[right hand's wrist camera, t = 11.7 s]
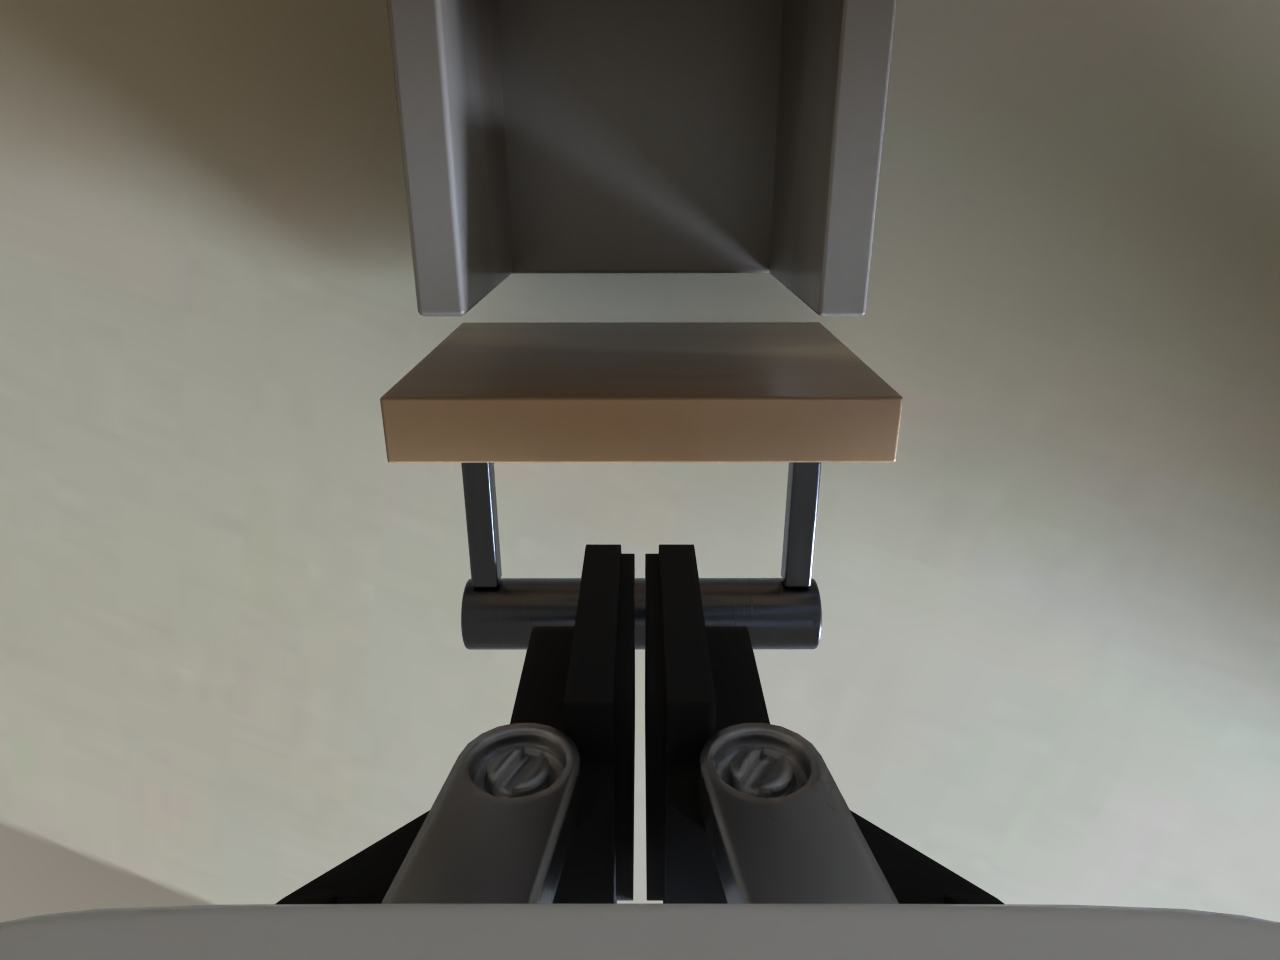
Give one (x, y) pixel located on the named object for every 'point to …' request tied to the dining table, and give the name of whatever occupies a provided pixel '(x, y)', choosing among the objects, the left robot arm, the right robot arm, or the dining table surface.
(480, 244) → the drawer
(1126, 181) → the dining table surface
